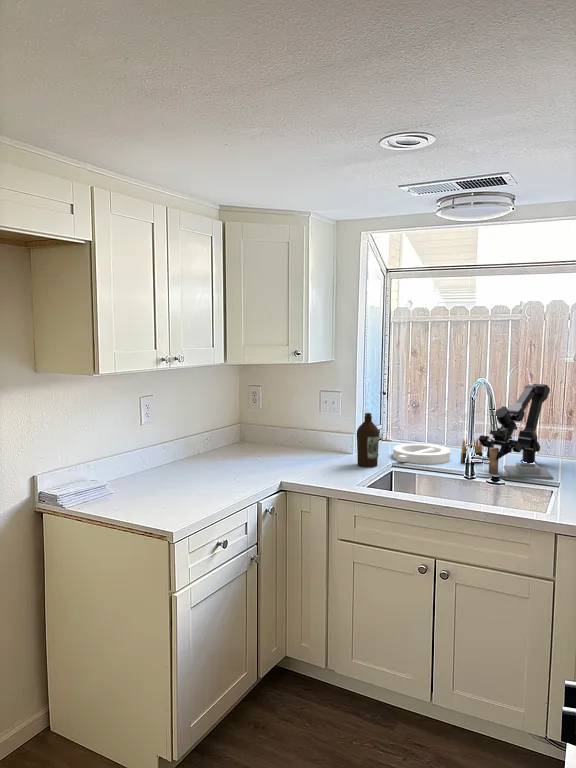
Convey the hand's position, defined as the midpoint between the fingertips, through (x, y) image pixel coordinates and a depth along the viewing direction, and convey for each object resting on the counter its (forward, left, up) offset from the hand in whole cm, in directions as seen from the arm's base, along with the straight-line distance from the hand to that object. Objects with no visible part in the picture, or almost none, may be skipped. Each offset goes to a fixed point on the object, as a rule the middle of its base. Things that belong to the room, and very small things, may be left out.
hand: (492, 458), depth 267 cm
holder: (-4, +16, -7) cm, 18 cm away
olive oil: (-3, -56, -7) cm, 57 cm away
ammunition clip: (-20, -7, -7) cm, 22 cm away
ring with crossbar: (-26, -31, -7) cm, 41 cm away
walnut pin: (-1, +1, -7) cm, 7 cm away
